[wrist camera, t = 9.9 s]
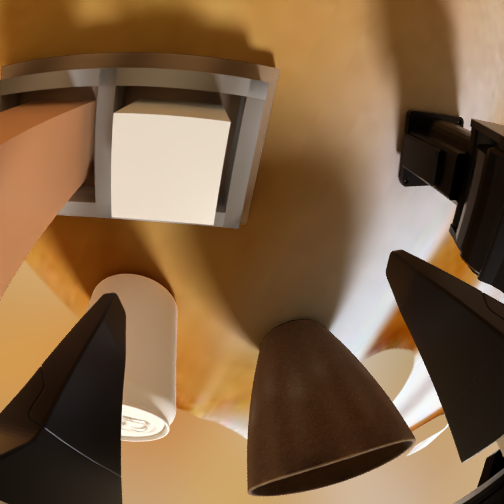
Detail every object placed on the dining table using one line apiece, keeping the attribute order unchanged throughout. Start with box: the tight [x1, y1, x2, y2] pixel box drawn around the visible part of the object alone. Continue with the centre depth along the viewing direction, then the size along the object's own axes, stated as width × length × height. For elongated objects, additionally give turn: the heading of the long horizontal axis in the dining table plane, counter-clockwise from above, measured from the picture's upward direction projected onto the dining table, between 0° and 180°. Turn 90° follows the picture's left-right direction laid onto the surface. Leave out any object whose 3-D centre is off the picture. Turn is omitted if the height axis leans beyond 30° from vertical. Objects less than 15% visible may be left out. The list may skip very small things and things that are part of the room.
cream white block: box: [111, 98, 231, 225], centre depth 15 cm, size 5×5×6 cm
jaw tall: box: [0, 100, 96, 299], centre depth 10 cm, size 5×5×13 cm
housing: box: [0, 52, 280, 229], centre depth 16 cm, size 19×11×4 cm, turn 79°
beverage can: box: [86, 274, 178, 441], centre depth 21 cm, size 8×8×12 cm
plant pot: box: [247, 320, 416, 496], centre depth 26 cm, size 15×15×16 cm
